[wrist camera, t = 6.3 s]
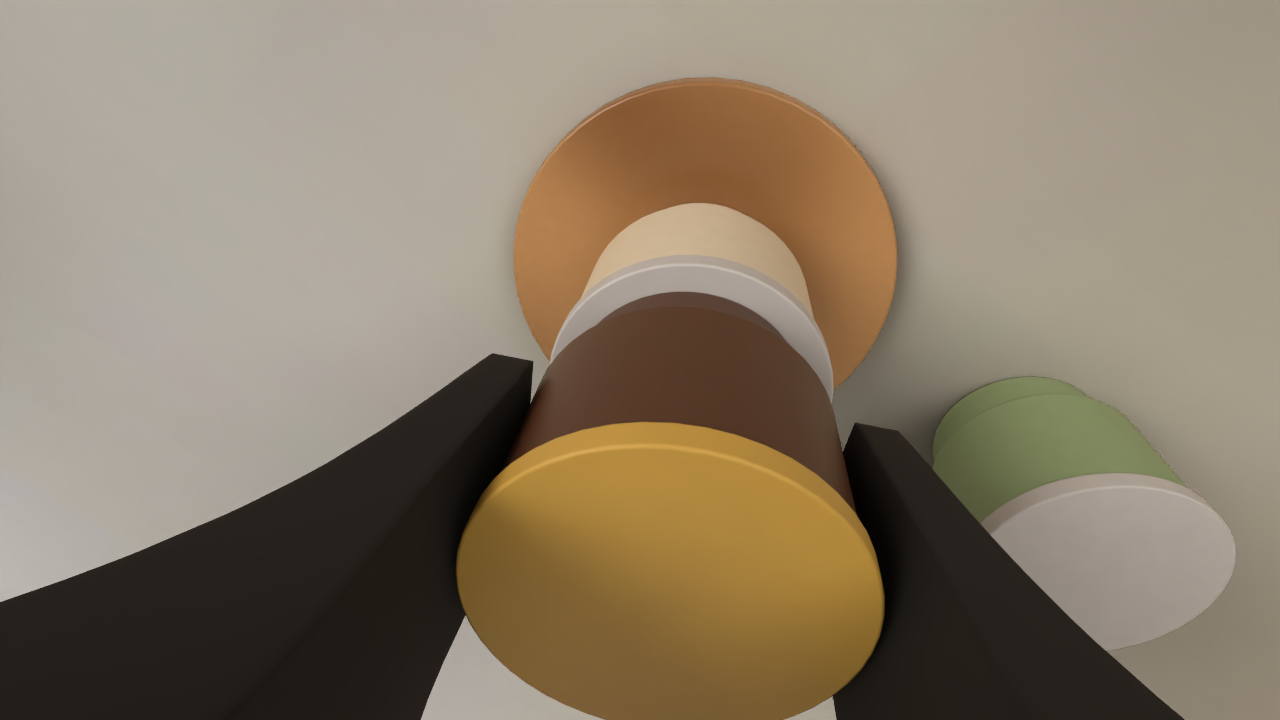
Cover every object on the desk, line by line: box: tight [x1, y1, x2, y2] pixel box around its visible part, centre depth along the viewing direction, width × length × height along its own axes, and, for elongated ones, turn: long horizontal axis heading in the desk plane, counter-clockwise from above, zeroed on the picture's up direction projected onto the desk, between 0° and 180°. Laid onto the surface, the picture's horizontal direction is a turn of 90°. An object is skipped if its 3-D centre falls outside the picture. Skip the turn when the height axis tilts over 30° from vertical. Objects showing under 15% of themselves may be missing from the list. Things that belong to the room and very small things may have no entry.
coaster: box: [514, 77, 897, 390], centre depth 15 cm, size 8×8×1 cm
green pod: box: [932, 377, 1236, 651], centre depth 15 cm, size 5×5×4 cm
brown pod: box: [456, 292, 885, 720], centre depth 9 cm, size 5×5×4 cm
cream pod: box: [550, 203, 834, 404], centre depth 13 cm, size 5×5×4 cm
